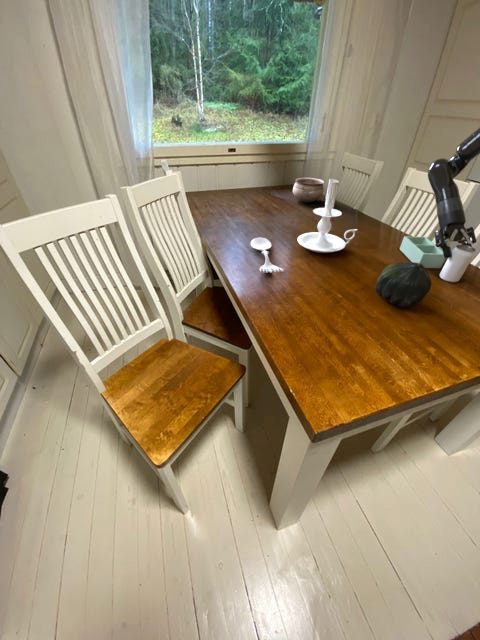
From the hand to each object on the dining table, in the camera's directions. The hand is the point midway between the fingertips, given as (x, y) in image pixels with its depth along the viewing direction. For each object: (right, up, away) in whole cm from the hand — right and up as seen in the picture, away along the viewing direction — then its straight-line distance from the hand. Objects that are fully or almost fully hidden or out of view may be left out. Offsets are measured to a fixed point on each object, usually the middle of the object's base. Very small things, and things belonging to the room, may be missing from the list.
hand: (458, 256), depth 97 cm
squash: (-27, -16, -7) cm, 32 cm away
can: (0, -7, +4) cm, 8 cm away
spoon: (-68, +3, +15) cm, 70 cm away
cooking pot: (-36, +54, +79) cm, 102 cm away
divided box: (-3, +3, +17) cm, 18 cm away
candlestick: (-41, +9, +24) cm, 48 cm away
